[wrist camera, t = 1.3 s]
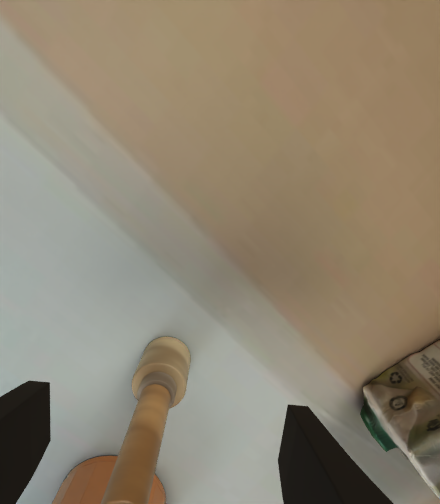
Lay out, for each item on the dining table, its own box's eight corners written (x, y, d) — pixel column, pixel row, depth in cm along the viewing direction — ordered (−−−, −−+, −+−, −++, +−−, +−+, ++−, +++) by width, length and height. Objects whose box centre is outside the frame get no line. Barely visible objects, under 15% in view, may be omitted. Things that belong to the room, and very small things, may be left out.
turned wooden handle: (155, 384, 21) (99, 562, 11) (136, 345, 20) (59, 499, 11) (197, 369, 21) (178, 539, 11) (179, 329, 20) (142, 472, 10)
